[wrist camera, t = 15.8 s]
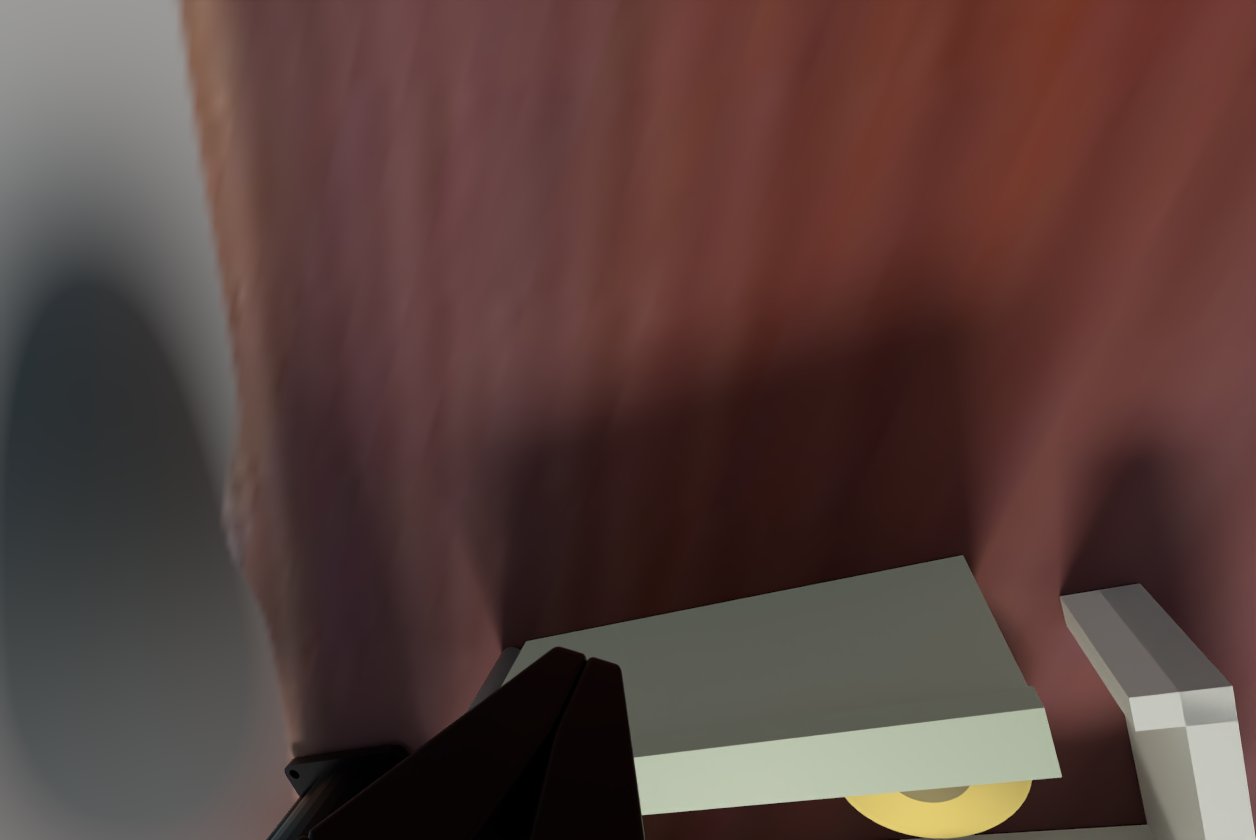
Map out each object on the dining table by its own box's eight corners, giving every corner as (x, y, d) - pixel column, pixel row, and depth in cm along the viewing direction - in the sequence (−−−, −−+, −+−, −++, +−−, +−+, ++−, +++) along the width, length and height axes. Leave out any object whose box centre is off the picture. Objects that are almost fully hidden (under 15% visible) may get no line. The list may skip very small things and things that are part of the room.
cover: (538, 667, 24) (456, 831, 18) (519, 628, 23) (428, 783, 17) (972, 588, 19) (1061, 777, 13) (958, 537, 19) (1044, 707, 13)
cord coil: (850, 789, 23) (856, 845, 21) (806, 662, 21) (809, 709, 19) (1024, 776, 21) (1050, 836, 19) (990, 635, 19) (1013, 685, 18)
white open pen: (610, 875, 27) (562, 1071, 21) (497, 649, 24) (404, 803, 18) (1188, 845, 20) (1357, 1118, 14) (1130, 531, 17) (1312, 710, 12)
